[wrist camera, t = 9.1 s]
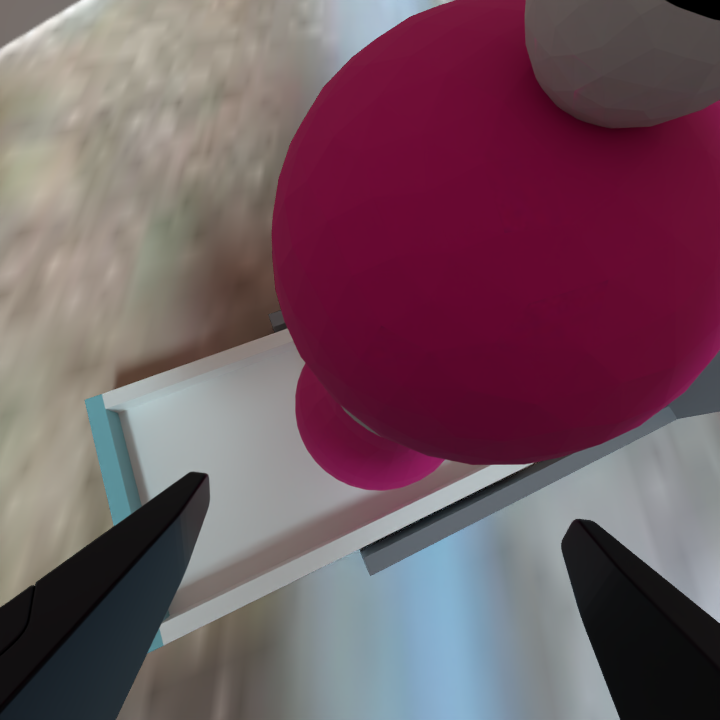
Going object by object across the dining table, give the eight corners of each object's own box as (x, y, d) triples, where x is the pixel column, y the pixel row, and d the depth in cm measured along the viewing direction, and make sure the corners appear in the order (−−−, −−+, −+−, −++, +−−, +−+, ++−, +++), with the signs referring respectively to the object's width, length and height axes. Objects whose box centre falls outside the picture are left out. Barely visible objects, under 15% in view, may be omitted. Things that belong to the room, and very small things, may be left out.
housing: (366, 566, 19) (386, 610, 13) (273, 328, 23) (251, 265, 16) (697, 399, 24) (839, 368, 17) (576, 222, 27) (656, 139, 21)
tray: (163, 636, 18) (143, 655, 16) (107, 407, 20) (84, 400, 19) (515, 464, 21) (534, 462, 19) (425, 292, 24) (434, 276, 22)
